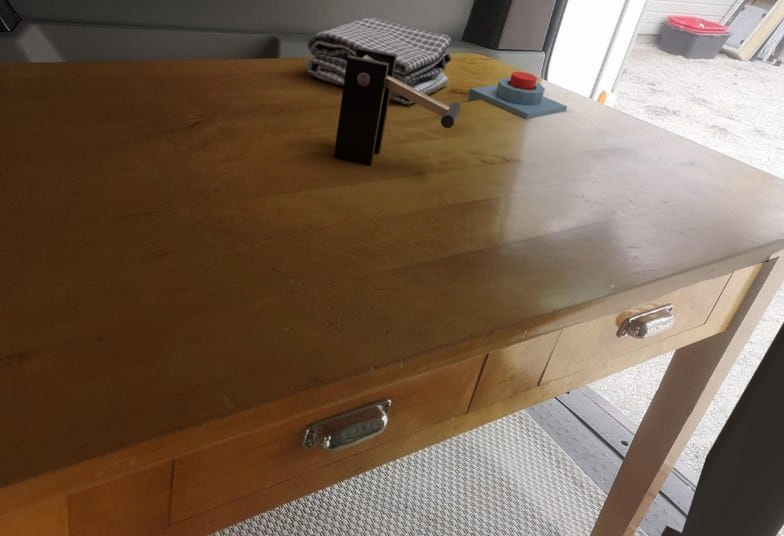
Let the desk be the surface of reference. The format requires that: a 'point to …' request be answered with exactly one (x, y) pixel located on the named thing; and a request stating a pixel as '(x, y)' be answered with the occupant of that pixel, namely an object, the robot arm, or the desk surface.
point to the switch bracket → (364, 106)
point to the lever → (424, 100)
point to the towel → (413, 48)
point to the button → (523, 80)
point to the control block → (517, 99)
